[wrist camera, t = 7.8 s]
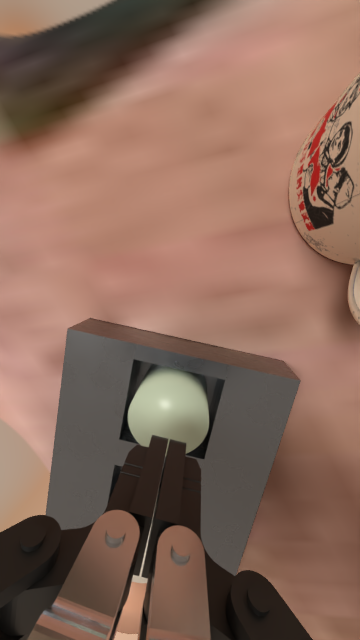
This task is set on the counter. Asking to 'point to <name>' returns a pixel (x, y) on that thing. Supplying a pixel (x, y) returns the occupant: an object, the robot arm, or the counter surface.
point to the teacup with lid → (332, 188)
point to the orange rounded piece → (132, 609)
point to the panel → (212, 456)
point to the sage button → (170, 407)
